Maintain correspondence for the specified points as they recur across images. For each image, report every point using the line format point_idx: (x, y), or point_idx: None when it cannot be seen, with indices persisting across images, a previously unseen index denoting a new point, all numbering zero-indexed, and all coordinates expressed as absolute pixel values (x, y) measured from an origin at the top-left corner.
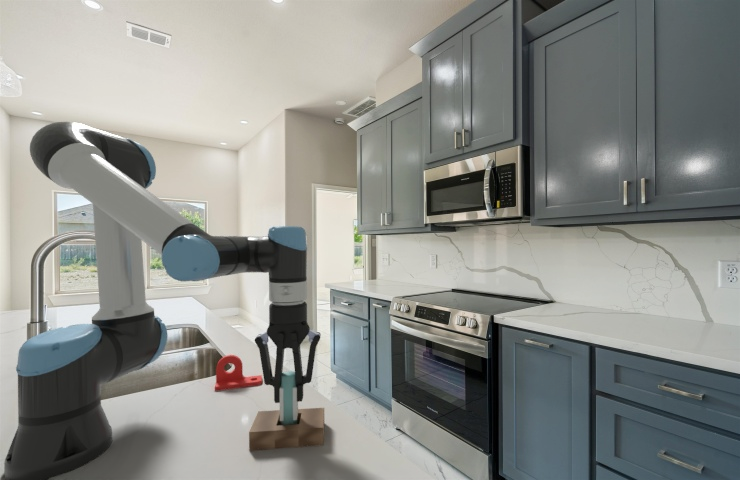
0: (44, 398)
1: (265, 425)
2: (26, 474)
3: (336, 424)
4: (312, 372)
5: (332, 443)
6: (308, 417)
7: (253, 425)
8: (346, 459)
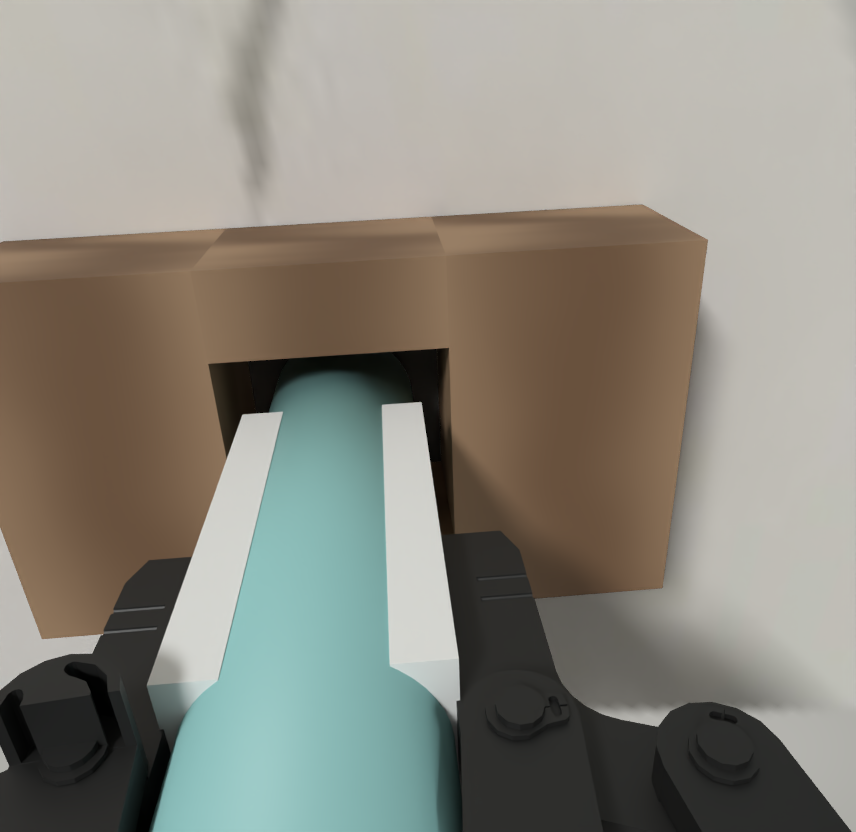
0: None
1: (143, 556)
2: None
3: (751, 221)
4: (831, 816)
5: (681, 481)
6: (531, 437)
7: (23, 551)
8: (744, 622)
